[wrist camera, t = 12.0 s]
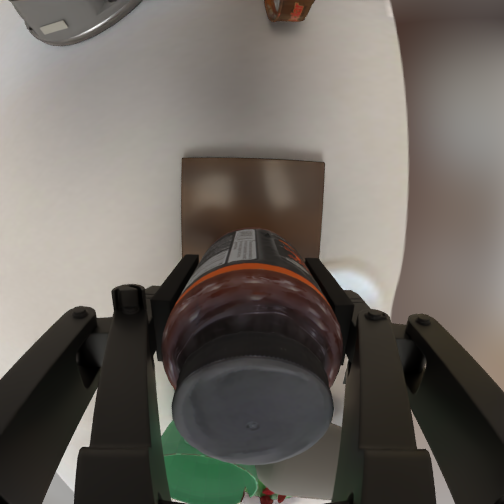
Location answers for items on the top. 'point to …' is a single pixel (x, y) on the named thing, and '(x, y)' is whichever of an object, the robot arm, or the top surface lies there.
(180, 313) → the supplement bottle
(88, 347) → the robot arm
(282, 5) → the tin
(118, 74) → the top surface
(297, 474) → the cup
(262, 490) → the red green faceted piece
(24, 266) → the top surface
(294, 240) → the placemat
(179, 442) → the mug
